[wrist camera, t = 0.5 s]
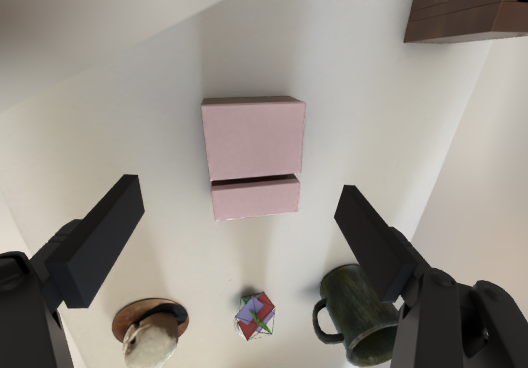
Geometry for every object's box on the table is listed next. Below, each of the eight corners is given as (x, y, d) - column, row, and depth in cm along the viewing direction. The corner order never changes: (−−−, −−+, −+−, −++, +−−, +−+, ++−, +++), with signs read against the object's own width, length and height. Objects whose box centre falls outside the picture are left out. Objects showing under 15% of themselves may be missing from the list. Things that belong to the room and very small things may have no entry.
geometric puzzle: (267, 283, 39) (250, 337, 34) (289, 302, 42) (276, 353, 37) (238, 281, 43) (219, 328, 38) (260, 298, 46) (244, 343, 41)
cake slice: (211, 169, 30) (211, 190, 25) (286, 163, 32) (300, 182, 27) (214, 196, 32) (214, 221, 27) (284, 189, 34) (298, 211, 28)
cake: (203, 98, 26) (200, 106, 21) (288, 95, 28) (306, 102, 23) (210, 160, 30) (209, 180, 24) (286, 155, 31) (300, 172, 26)
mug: (365, 295, 49) (406, 357, 39) (298, 309, 47) (323, 379, 36) (374, 256, 44) (424, 316, 34) (300, 270, 42) (329, 338, 31)
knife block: (415, -11, 26) (520, -51, 17) (468, -8, 27) (593, -44, 18) (403, 42, 28) (490, 31, 19) (453, 43, 29) (557, 33, 20)
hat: (151, 360, 43) (104, 401, 33) (133, 306, 46) (83, 329, 36) (205, 332, 42) (172, 366, 32) (183, 278, 45) (146, 294, 35)
